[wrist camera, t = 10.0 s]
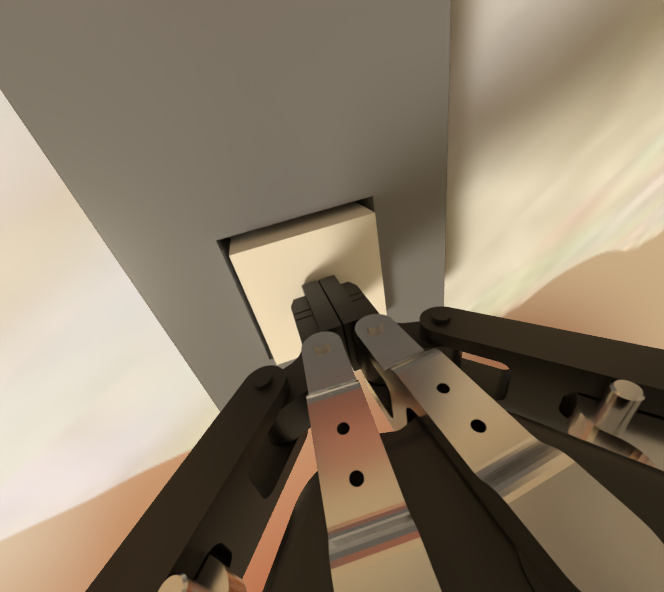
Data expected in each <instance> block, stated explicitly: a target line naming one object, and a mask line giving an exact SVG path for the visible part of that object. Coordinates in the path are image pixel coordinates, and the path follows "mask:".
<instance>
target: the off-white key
mask: <svg viewBox="0 0 664 592" xmlns="http://www.w3.org/2000/svg"><path fill="white" fill-rule="evenodd" d="M229 257H230V259H231V261H232V264H233V266H234V268H235V271H236V273H237V275H238V277H239V280H240V282H241V284H242V287H243V289H244V291H245V293H246V296H247V298H248V300H249V303H250V305H251V307H252V309H253V312H254V314H255V316H256V319H257V321H258V323H259V326H260V328H261V330H262V332H263V335H264V337H265V339H266V342H267V344H268V346H269V348H270V351H271V353H272V355H273V358H274V360H275V362H276V364H277V365H279V364H282V363H284V362H287V361H290V360H293V359H296V358H298V356H299V355H300V353H301V348H302V343H301V339H300V336H299V333H298V330H297V326H296V323H295V320H294V316H293V313H292V310H291V305H292V302H293V300H294V299H297V298H300V297H303V296H304V293H303V289H302V285H304V284H307V283H310V282H313V281H316V280H317V281H318V280H319V279H322V278H325V277H328V276H332V275H335V277H336V278H337V280H338V281H339V283H340V284H342V283H345V282H351V283H353V284H355V285H357V286H358V287H359V288H360V290H361V291H362V293H364V295H365V296H366V297H367V299H368V300H369V301H370V302H371V304H372V305H373V306H374V307H375V309H376V310H377V311H378V312H379V314H383V315H387V312H386V304H385V295H384V286H383V278H382V269H381V260H380V251H379V243H378V234H377V225H376V217H375V212H373V211H371V210H369V209H367V208H366V207H364V206H362V205H360V204H358V203H357V202H355V201H353V202H350V203H346V204H343V205H339V206H336V207H332V208H329V209H325V210H322V211H318V212H314V213H311V214H307V215H304V216H300V217H297V218H293V219H290V220H286V221H283V222H279V223H276V224H272V225H269V226H265V227H262V228H258V229H255V230H251V231H248V232H244V233H241V234H237V235H234V236H231V239H230V250H229Z"/></svg>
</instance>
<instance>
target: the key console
mask: <svg viewBox="0 0 664 592" xmlns="http://www.w3.org/2000/svg"><path fill="white" fill-rule="evenodd" d="M450 20H451V0H0V89H1V91H2V92H3V94H4V95H5V97H6V98H7V100H8V101H9V103H10V104H11V106H12V107H13V109H14V110H15V111H16V113H17V114H18V116H19V117H20V119H21V120H22V122H23V123H24V125H25V126H26V128H27V129H28V131H29V132H30V133H31V135H32V136H33V138H34V139H35V141H36V142H37V144H38V145H39V147H40V148H41V150H42V151H43V153H44V154H45V155H46V157H47V158H48V160H49V161H50V163H51V164H52V166H53V167H54V169H55V170H56V172H57V173H58V175H59V176H60V177H61V179H62V180H63V182H64V183H65V185H66V186H67V188H68V189H69V191H70V192H71V194H72V195H73V197H74V198H75V199H76V201H77V202H78V204H79V205H80V207H81V208H82V210H83V211H84V213H85V214H86V216H87V217H88V219H89V220H90V221H91V223H92V224H93V226H94V227H95V229H96V230H97V232H98V233H99V235H100V236H101V238H102V239H103V241H104V242H105V243H106V245H107V246H108V248H109V249H110V251H111V252H112V254H113V255H114V257H115V258H116V260H117V261H118V262H119V264H120V265H121V267H122V268H123V270H124V271H125V273H126V274H127V276H128V277H129V279H130V280H131V282H132V283H133V284H134V286H135V287H136V289H137V290H138V292H139V293H140V295H141V296H142V298H143V299H144V301H145V302H146V304H147V305H148V306H149V308H150V309H151V311H152V312H153V314H154V315H155V317H156V318H157V320H158V321H159V323H160V324H161V326H162V327H163V328H164V330H165V331H166V333H167V334H168V336H169V337H170V339H171V340H172V342H173V343H174V345H175V346H176V348H177V349H178V350H179V352H180V353H181V355H182V356H183V358H184V359H185V361H186V362H187V364H188V365H189V367H190V368H191V370H192V371H193V372H194V374H195V375H196V377H197V378H198V380H199V381H200V383H201V384H202V386H203V387H204V389H205V390H206V392H207V393H208V394H209V396H210V397H211V399H212V400H213V402H214V403H215V405H216V406H217V408H218V409H219V411H220V412H221V411H222V409H223V408H224V407H225V405H226V404H227V403H228V401H229V400H230V399H231V397H232V396H233V395H234V393H235V392H236V391H237V389H238V388H239V387H240V385H241V384H242V383H243V382H244V380H245V379H246V378H247V377H248V375H250V374H251V373H252V372H253V371H255V370H256V369H258V368H261V367H264V366H268V365H275V366H278V367H280V368H282V369H284V368H285V367H287V366H288V365H290V364H291V363H293V362H294V361H295V360H296V359H297V358H296V359H293V360H290V361H287V362H284V363H282V364H279V365H277V364H276V362H275V360H274V358H273V355H272V353H271V351H270V348H269V346H268V344H267V342H266V339H265V337H264V335H263V332H262V330H261V328H260V326H259V323H258V321H257V319H256V316H255V314H254V312H253V309H252V307H251V305H250V303H249V300H248V298H247V296H246V293H245V291H244V289H243V287H242V284H241V282H240V280H239V277H238V275H237V273H236V271H235V268H234V266H233V264H232V261H231V259H230V257H229V250H230V239H231V236H234V235H237V234H241V233H244V232H248V231H251V230H255V229H258V228H262V227H265V226H269V225H272V224H276V223H279V222H283V221H286V220H290V219H293V218H297V217H300V216H304V215H307V214H311V213H314V212H318V211H322V210H325V209H329V208H332V207H336V206H339V205H343V204H346V203H350V202H353V201H355V202H357V203H358V204H360V205H362V206H364V207H366V208H367V209H369V210H371V211H373V212H375V217H376V225H377V234H378V243H379V251H380V260H381V269H382V278H383V286H384V295H385V304H386V312H387V316H389V317H391V318H392V319H393V320H394V321H395V322H396V323H408V322H417V321H420V315H421V313H422V312H423V311H425V310H426V309H429V308H432V307H438V306H443V307H444V276H445V233H446V190H447V148H448V105H449V62H450Z"/></svg>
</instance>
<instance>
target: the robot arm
mask: <svg viewBox="0 0 664 592" xmlns="http://www.w3.org/2000/svg"><path fill="white" fill-rule="evenodd" d="M302 289H303V293H304V296H303V297H300V298H297V299H294V300H293V302H292V305H291V310H292V313H293V316H294V320H295V323H296V326H297V330H298V333H299V336H300V339H301V343H302V348H301V353H300V355H299V356H298V358H297V359H296V360H295V361H294V362H293V363H291V364H290V365H288V366H287V367H285V368H284V369H282V368H280V367H278V366H275V365H268V366H264V367H261V368H258V369H256V370H255V371H253V372H252V373H251V374H250V375H248V377H247V378H246V379H245V380H244V382H243V383H242V384H241V385H240V387H239V388H238V389H237V391H236V392H235V393H234V395H233V396H232V397H231V399H230V400H229V401H228V403H227V404H226V405H225V407H224V408H223V409H222V411H221V412H220V413H219V415H218V416H217V417H216V419H215V420H214V421H213V423H212V424H211V425H210V427H209V428H208V429H207V431H206V432H205V433H204V435H203V436H202V437H201V439H200V440H199V441H198V443H197V444H196V445H195V447H194V448H193V449H192V451H191V452H190V454H189V455H188V456H187V458H186V459H185V460H184V461H183V463H182V464H181V465H180V467H179V468H178V469H177V471H176V472H175V473H174V475H173V476H172V477H171V479H170V480H169V481H168V483H167V484H166V485H165V486H164V488H163V489H162V491H161V492H160V493H159V495H158V496H157V497H156V499H155V500H154V501H153V502H152V504H151V505H150V506H149V508H148V509H147V510H146V512H145V513H144V514H143V516H142V517H141V518H140V520H139V521H138V523H137V524H136V525H135V526H134V528H133V529H132V531H131V532H130V533H129V534H128V536H127V537H126V538H125V540H124V541H123V542H122V544H121V545H120V547H119V548H118V549H117V550H116V552H115V553H114V554H113V556H112V557H111V558H110V560H109V561H108V562H107V564H106V565H105V566H104V568H103V569H102V570H101V572H100V573H99V574H98V576H97V577H96V578H95V580H94V581H93V582H92V584H91V585H90V586H89V588H88V589H87V590H86V591H85V592H247V591H246V587H245V584H244V582H243V580H242V578H243V576H244V574H245V571H246V569H247V567H248V565H249V563H250V561H251V558H252V556H253V554H254V552H255V550H256V547H257V545H258V543H259V541H260V539H261V536H262V534H263V532H264V530H265V528H266V525H267V523H268V521H269V519H270V517H271V514H272V512H273V510H274V508H275V506H276V503H277V501H278V499H279V497H280V494H281V492H282V490H283V488H284V486H285V484H286V481H287V479H288V477H289V475H290V473H291V471H292V468H293V466H294V464H295V462H296V459H297V457H298V455H299V453H300V451H301V449H302V446H303V444H304V442H305V440H306V437H307V434H308V429H309V428H310V427H311V431H312V437H313V443H314V449H315V456H316V462H317V469H318V471H317V472H316V473H315V474H314V475H313V477H312V478H311V479H310V480H309V481H308V483H307V485H306V486H305V487H304V489H303V491H302V492H301V494H300V496H299V498H298V500H297V502H296V504H295V507H294V509H293V512H292V514H291V517H290V520H289V522H288V525H287V528H286V530H285V533H284V536H283V539H282V541H281V544H280V546H279V549H278V552H277V554H276V557H275V560H274V562H273V565H272V568H271V570H270V573H269V576H268V578H267V581H266V584H265V586H264V589H263V591H262V592H664V350H663V349H658V348H653V347H647V346H642V345H637V344H632V343H627V342H622V341H617V340H612V339H607V338H602V337H596V336H592V335H586V334H582V333H577V332H571V331H566V330H561V329H556V328H551V327H546V326H540V325H536V324H531V323H526V322H521V321H516V320H511V319H505V318H501V317H496V316H491V315H485V314H480V313H475V312H470V311H465V310H460V309H455V308H450V307H443V306H438V307H432V308H429V309H426V310H425V311H423V312H422V313H421V315H420V321H417V322H408V323H396V322H395V321H394V320H393V319H392V318H391V317H389V316H387V315H383V314H379V312H378V311H377V310H376V309H375V307H374V306H373V305H372V304H371V302H370V301H369V300H368V299H367V297H366V296H365V295H364V293H362V291H361V290H360V288H359V287H358V286H357V285H355V284H353V283H351V282H345V283H342V284H340V283H339V281H338V280H337V278H336V277H335V275H332V276H328V277H325V278H322V279H319V280H318V281H317V280H316V281H313V282H310V283H307V284H304V285H302ZM462 352H466V353H469V354H473V355H477V356H480V357H484V358H487V359H491V360H494V361H498V362H501V363H503V364H505V365H506V366H508V367H509V369H508V370H502V369H498V368H495V367H492V366H488V365H484V364H481V363H478V362H474V361H471V360H467V359H464V358H462ZM351 366H352V367H351ZM352 368H353V370H354V371H357V370H359V369H361V370H362V372H363V374H364V377H365V382H366V385H367V387H368V389H369V390H370V392H371V394H372V395H373V397H374V399H375V400H376V402H377V403H378V405H379V407H380V408H381V410H382V411H383V413H384V414H385V416H386V417H387V419H388V421H389V422H390V424H391V426H392V428H393V430H394V432H387V433H380V434H379V432H378V430H377V427H376V424H375V422H374V419H373V417H372V414H371V411H370V409H369V406H368V404H367V401H366V398H365V396H364V393H363V390H362V388H361V385H360V383H359V381H358V380H356V378H355V375H354V372H353V370H352Z"/></svg>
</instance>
